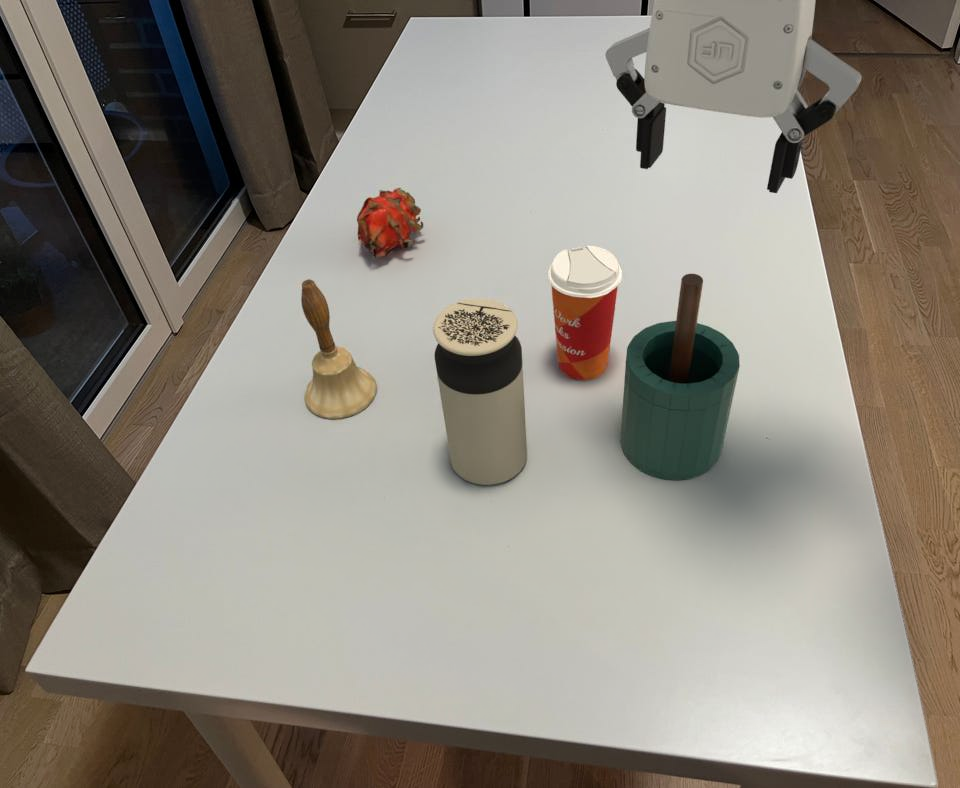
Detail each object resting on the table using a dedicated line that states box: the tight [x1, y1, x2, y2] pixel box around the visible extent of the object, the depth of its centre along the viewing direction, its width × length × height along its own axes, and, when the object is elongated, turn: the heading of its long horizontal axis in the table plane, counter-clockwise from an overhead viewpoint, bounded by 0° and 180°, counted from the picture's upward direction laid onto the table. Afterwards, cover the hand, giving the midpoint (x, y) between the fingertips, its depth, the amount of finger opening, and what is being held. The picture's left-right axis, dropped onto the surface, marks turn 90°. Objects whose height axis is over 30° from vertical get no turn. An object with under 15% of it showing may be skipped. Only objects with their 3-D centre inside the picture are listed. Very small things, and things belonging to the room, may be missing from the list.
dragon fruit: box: [356, 187, 424, 259], centre depth 109 cm, size 8×8×12 cm
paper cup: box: [547, 245, 623, 381], centre depth 86 cm, size 8×8×14 cm
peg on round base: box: [669, 273, 704, 384], centre depth 75 cm, size 4×4×20 cm
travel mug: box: [432, 298, 528, 486], centre depth 76 cm, size 8×8×18 cm
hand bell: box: [300, 278, 378, 420], centre depth 85 cm, size 8×8×16 cm
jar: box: [620, 320, 740, 481], centre depth 78 cm, size 10×10×12 cm
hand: (712, 171), depth 60 cm, fingers open, 9 cm apart
